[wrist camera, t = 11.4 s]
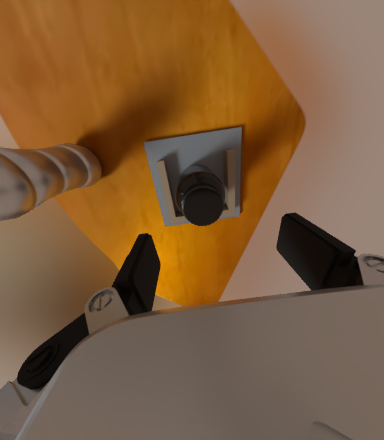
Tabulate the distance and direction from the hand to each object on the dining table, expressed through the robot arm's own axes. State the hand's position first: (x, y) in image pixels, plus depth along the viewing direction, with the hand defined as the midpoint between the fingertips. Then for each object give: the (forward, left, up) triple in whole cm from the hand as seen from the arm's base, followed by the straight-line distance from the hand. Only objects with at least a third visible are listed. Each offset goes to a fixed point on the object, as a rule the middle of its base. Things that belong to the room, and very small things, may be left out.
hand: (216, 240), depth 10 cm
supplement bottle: (0, 0, -18) cm, 18 cm away
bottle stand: (0, 0, -19) cm, 19 cm away
